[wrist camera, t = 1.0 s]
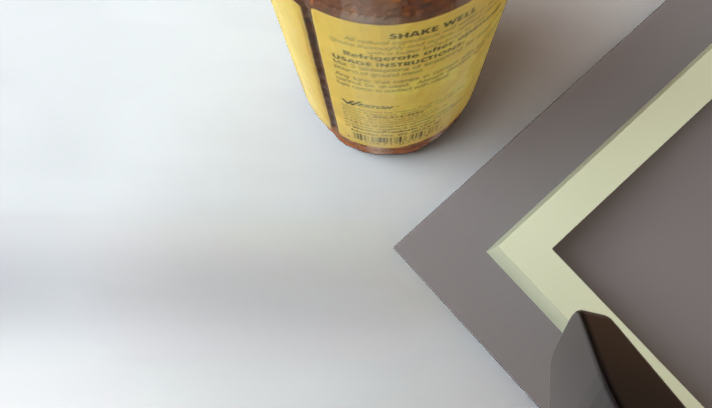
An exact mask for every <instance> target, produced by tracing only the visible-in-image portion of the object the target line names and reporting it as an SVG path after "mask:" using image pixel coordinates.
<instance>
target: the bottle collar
mask: <svg viewBox="0 0 712 408" xmlns="http://www.w3.org/2000/svg"><path fill="white" fill-rule="evenodd" d="M711 99H712V43H711V44H710V45H709V46H708V47H707V48H706V49H705V50H704V51H702V52H701V53H700V54H699V55H698V56H697V57H696V58H695V59H694V60H693V61H692V62H691V63H690V64H688V65H687V66H686V67H685V68H684V69H683V70H682V71H681V72H680V73H679V74H678V75H677V76H675V77H674V78H673V79H672V80H671V81H670V82H669V83H668V84H667V85H666V86H665V87H664V88H662V89H661V90H660V91H659V92H658V93H657V94H656V95H655V96H654V97H653V98H652V99H651V100H649V101H648V102H647V103H646V104H645V105H644V106H643V107H642V108H641V109H640V110H639V111H638V112H637V113H635V114H634V115H633V116H632V117H631V118H630V119H629V120H628V121H627V122H626V123H625V124H624V125H622V126H621V127H620V128H619V129H618V130H617V131H616V132H615V133H614V134H613V135H612V136H611V137H609V138H608V139H607V140H606V141H605V142H604V143H603V144H602V145H601V146H600V147H599V148H598V149H596V150H595V151H594V152H593V153H592V154H591V155H590V156H589V157H588V158H587V159H586V160H585V161H583V162H582V163H581V164H580V165H579V166H578V167H577V168H576V169H575V170H574V171H573V172H572V173H571V174H569V175H568V176H567V177H566V178H565V179H564V180H563V181H562V182H561V183H560V184H559V185H558V186H556V187H555V188H554V189H553V190H552V191H551V192H550V193H549V194H548V195H547V196H546V197H545V198H543V199H542V200H541V201H540V202H539V203H538V204H537V205H536V206H535V207H534V208H533V209H532V210H530V211H529V212H528V213H527V214H526V215H525V216H524V217H523V218H522V219H521V220H520V221H519V222H517V223H516V224H515V225H514V226H513V227H512V228H511V229H510V230H509V231H508V232H507V233H506V234H505V235H503V236H502V237H501V238H500V239H499V240H498V241H497V242H496V243H495V244H494V245H493V246H492V247H490V248H489V249H488V250H487V251H486V252H487V253H488V254H489V255H490V256H491V257H492V258H493V260H494V261H495V262H496V263H497V264H498V265H499V266H500V267H501V268H502V269H503V270H504V271H505V272H506V273H507V274H508V276H509V277H510V278H511V279H512V280H513V281H514V282H515V283H516V284H517V285H518V286H519V287H520V288H521V289H522V290H523V291H524V293H525V294H526V295H527V296H528V297H529V298H530V299H531V300H532V301H533V302H534V303H535V304H536V305H537V306H538V307H539V309H540V310H541V311H542V312H543V313H544V314H545V315H546V316H547V317H548V318H549V319H550V320H551V321H552V322H553V323H554V325H555V326H556V327H557V328H558V329H559V330H560V331H561V332H562V333H563V331H564V329H565V327H566V325H567V323H568V322H569V320H570V318H571V316H572V315H573V314H574V313H575V312H576V311H578V310H585V311H589V312H594V313H598V314H602V315H606V316H608V317H609V318H611V319H612V320H613V321H614V322H615V323H616V325H617V326H618V327H619V328H620V329H621V331H622V332H623V333H624V334H625V335H626V337H627V338H628V339H629V340H630V341H631V342H632V344H633V345H634V346H635V347H636V348H637V350H638V351H639V352H640V353H641V354H642V356H643V357H644V358H645V359H646V360H647V362H648V363H649V364H650V365H651V366H652V367H653V369H654V370H655V371H656V372H657V373H658V375H659V376H660V377H661V378H662V379H663V381H664V382H665V383H666V384H667V385H668V386H669V388H670V389H671V390H672V391H673V392H674V394H675V395H676V396H677V397H678V398H679V400H680V401H681V402H682V403H683V404H684V405H685V407H686V408H704V407H703V406H702V405H701V404H700V403H699V402H698V401H697V400H696V399H695V398H694V396H693V395H692V394H691V393H690V392H689V391H688V390H687V389H686V388H685V387H684V386H683V385H682V384H681V383H680V382H679V381H678V380H677V379H676V378H675V377H674V376H673V375H672V374H671V373H670V371H669V370H668V369H667V368H666V367H665V366H664V365H663V364H662V363H661V362H660V361H659V360H658V359H657V358H656V357H655V356H654V355H653V354H652V353H651V352H650V351H649V350H648V349H647V348H646V347H645V345H644V344H643V343H642V342H641V341H640V340H639V339H638V338H637V337H636V336H635V335H634V334H633V333H632V332H631V331H630V330H629V329H628V328H627V327H626V326H625V325H624V324H623V323H622V322H621V320H620V319H619V318H618V317H617V316H616V315H615V314H614V313H613V312H612V311H611V310H610V309H609V308H608V307H607V306H606V305H605V304H604V303H603V302H602V301H601V300H600V299H599V298H598V297H597V295H596V294H595V293H594V292H593V291H592V290H591V289H590V288H589V287H588V286H587V285H586V284H585V283H584V282H583V281H582V280H581V279H580V278H579V277H578V276H577V275H576V274H575V273H574V272H573V270H572V269H571V268H570V267H569V266H568V265H567V264H566V263H565V262H564V261H563V260H562V259H561V258H560V257H559V256H558V255H557V254H556V253H555V252H554V251H553V250H552V248H553V247H554V246H555V245H556V244H557V243H558V242H560V241H561V240H562V239H563V238H564V237H565V236H566V235H567V234H568V233H569V232H570V231H571V230H572V229H573V228H574V227H576V226H577V225H578V224H579V223H580V222H581V221H582V220H583V219H584V218H585V217H586V216H587V215H588V214H589V213H590V212H591V211H593V210H594V209H595V208H596V207H597V206H598V205H599V204H600V203H601V202H602V201H603V200H604V199H605V198H606V197H607V196H609V195H610V194H611V193H612V192H613V191H614V190H615V189H616V188H617V187H618V186H619V185H620V184H621V183H622V182H623V181H625V180H626V179H627V178H628V177H629V176H630V175H631V174H632V173H633V172H634V171H635V170H636V169H637V168H638V167H639V166H641V165H642V164H643V163H644V162H645V161H646V160H647V159H648V158H649V157H650V156H651V155H652V154H653V153H654V152H655V151H657V150H658V149H659V148H660V147H661V146H662V145H663V144H664V143H665V142H666V141H667V140H668V139H669V138H670V137H671V136H673V135H674V134H675V133H676V132H677V131H678V130H679V129H680V128H681V127H682V126H683V125H684V124H685V123H686V122H687V121H689V120H690V119H691V118H692V117H693V116H694V115H695V114H696V113H697V112H698V111H699V110H700V109H701V108H702V107H703V106H705V105H706V104H707V103H708V102H709V101H710V100H711Z"/></svg>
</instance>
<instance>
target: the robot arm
mask: <svg viewBox="0 0 712 408" xmlns="http://www.w3.org/2000/svg"><path fill="white" fill-rule="evenodd" d="M549 408H686V407H685V405H684V404H683V403H682V402H681V401H680V400H679V398H678V397H677V396H676V395H675V394H674V392H673V391H672V390H671V389H670V388H669V386H668V385H667V384H666V383H665V382H664V381H663V379H662V378H661V377H660V376H659V375H658V373H657V372H656V371H655V370H654V369H653V367H652V366H651V365H650V364H649V363H648V362H647V360H646V359H645V358H644V357H643V356H642V354H641V353H640V352H639V351H638V350H637V348H636V347H635V346H634V345H633V344H632V342H631V341H630V340H629V339H628V338H627V337H626V335H625V334H624V333H623V332H622V331H621V329H620V328H619V327H618V326H617V325H616V323H615V322H614V321H613V320H612V319H611V318H609V317H608V316H606V315H602V314H598V313H594V312H589V311H585V310H578V311H576V312H575V313H574V314H573V315H572V316H571V318H570V320H569V322H568V323H567V325H566V327H565V329H564V331H563V333H562V335H561V337H560V339H559V341H558V343H557V345H556V347H555V348H554V351H553V353H552V357H551V361H550V374H549Z"/></svg>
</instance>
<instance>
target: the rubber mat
mask: <svg viewBox="0 0 712 408" xmlns="http://www.w3.org/2000/svg"><path fill="white" fill-rule="evenodd" d="M711 43H712V0H666V1H665V2H664V3H663V4H662V5H661V6H660V7H659V8H658V9H657V10H655V11H654V12H653V13H652V14H651V15H650V16H649V17H648V18H647V19H645V20H644V21H643V22H642V23H641V24H640V25H639V26H638V27H637V28H635V29H634V30H633V31H632V32H631V33H630V34H629V35H628V36H627V37H626V38H624V39H623V40H622V41H621V42H620V43H619V44H618V45H617V46H616V47H614V48H613V49H612V50H611V51H610V52H609V53H608V54H607V55H606V56H605V57H603V58H602V59H601V60H600V61H599V62H598V63H597V64H596V65H595V66H593V67H592V68H591V69H590V70H589V71H588V72H587V73H586V74H585V75H584V76H582V77H581V78H580V79H579V80H578V81H577V82H576V83H575V84H574V85H572V86H571V87H570V88H569V89H568V90H567V91H566V92H565V93H564V94H562V95H561V96H560V97H559V98H558V99H557V100H556V101H555V102H554V103H553V104H551V105H550V106H549V107H548V108H547V109H546V110H545V111H544V112H543V113H541V114H540V115H539V116H538V117H537V118H536V119H535V120H534V121H533V122H532V123H530V124H529V125H528V126H527V127H526V128H525V129H524V130H523V131H522V132H520V133H519V134H518V135H517V136H516V137H515V138H514V139H513V140H512V141H511V142H509V143H508V144H507V145H506V146H505V147H504V148H503V149H502V150H501V151H499V152H498V153H497V154H496V155H495V156H494V157H493V158H492V159H491V160H489V161H488V162H487V163H486V164H485V165H484V166H483V167H482V168H481V169H480V170H478V171H477V172H476V173H475V174H474V175H473V176H472V177H471V178H470V179H468V180H467V181H466V182H465V183H464V184H463V185H462V186H461V187H460V188H459V189H457V190H456V191H455V192H454V193H453V194H452V195H451V196H450V197H449V198H447V199H446V200H445V201H444V202H443V203H442V204H441V205H440V206H439V207H438V208H436V209H435V210H434V211H433V212H432V213H431V214H430V215H429V216H428V217H426V218H425V219H424V220H423V221H422V222H421V223H420V224H419V225H418V226H416V227H415V228H414V229H413V230H412V231H411V232H410V233H409V234H408V235H407V236H405V237H404V238H403V239H402V240H401V241H400V242H399V243H398V244H397V245H395V246H394V249H395V250H396V251H397V252H398V253H399V254H400V255H401V256H402V258H403V259H404V260H405V261H406V262H407V263H408V264H409V265H410V266H411V267H412V269H413V270H414V271H415V272H416V273H417V274H418V275H419V276H420V277H421V278H422V280H423V281H424V282H425V283H426V284H427V285H428V286H429V287H430V288H431V289H432V291H433V292H434V293H435V294H436V295H437V296H438V297H439V298H440V299H441V300H442V301H443V303H444V304H445V305H446V306H447V307H448V308H449V309H450V310H451V311H452V312H453V314H454V315H455V316H456V317H457V318H458V319H459V320H460V321H461V322H462V323H463V325H464V326H465V327H466V328H467V329H468V330H469V331H470V332H471V333H472V334H473V336H474V337H475V338H476V339H477V340H478V341H479V342H480V343H481V344H482V345H483V346H484V348H485V349H486V350H487V351H488V352H489V353H490V354H491V355H492V356H493V357H494V359H495V360H496V361H497V362H498V363H499V364H500V365H501V366H502V367H503V368H504V370H505V371H506V372H507V373H508V374H509V375H510V376H511V377H512V378H513V379H514V381H515V382H516V383H517V384H518V385H519V386H520V387H521V388H522V389H523V390H524V391H525V393H526V394H527V395H528V396H529V397H530V398H531V399H532V400H533V401H534V402H535V404H536V405H537V406H538V407H539V408H549V374H550V361H551V357H552V353H553V351H554V348H555V347H556V345H557V343H558V341H559V339H560V337H561V335H562V332H561V331H560V330H559V329H558V328H557V327H556V326H555V325H554V323H553V322H552V321H551V320H550V319H549V318H548V317H547V316H546V315H545V314H544V313H543V312H542V311H541V310H540V309H539V307H538V306H537V305H536V304H535V303H534V302H533V301H532V300H531V299H530V298H529V297H528V296H527V295H526V294H525V293H524V291H523V290H522V289H521V288H520V287H519V286H518V285H517V284H516V283H515V282H514V281H513V280H512V279H511V278H510V277H509V276H508V274H507V273H506V272H505V271H504V270H503V269H502V268H501V267H500V266H499V265H498V264H497V263H496V262H495V261H494V260H493V258H492V257H491V256H490V255H489V254H488V253H487V252H486V251H487V250H488V249H489V248H490V247H492V246H493V245H494V244H495V243H496V242H497V241H498V240H499V239H500V238H501V237H502V236H503V235H505V234H506V233H507V232H508V231H509V230H510V229H511V228H512V227H513V226H514V225H515V224H516V223H517V222H519V221H520V220H521V219H522V218H523V217H524V216H525V215H526V214H527V213H528V212H529V211H530V210H532V209H533V208H534V207H535V206H536V205H537V204H538V203H539V202H540V201H541V200H542V199H543V198H545V197H546V196H547V195H548V194H549V193H550V192H551V191H552V190H553V189H554V188H555V187H556V186H558V185H559V184H560V183H561V182H562V181H563V180H564V179H565V178H566V177H567V176H568V175H569V174H571V173H572V172H573V171H574V170H575V169H576V168H577V167H578V166H579V165H580V164H581V163H582V162H583V161H585V160H586V159H587V158H588V157H589V156H590V155H591V154H592V153H593V152H594V151H595V150H596V149H598V148H599V147H600V146H601V145H602V144H603V143H604V142H605V141H606V140H607V139H608V138H609V137H611V136H612V135H613V134H614V133H615V132H616V131H617V130H618V129H619V128H620V127H621V126H622V125H624V124H625V123H626V122H627V121H628V120H629V119H630V118H631V117H632V116H633V115H634V114H635V113H637V112H638V111H639V110H640V109H641V108H642V107H643V106H644V105H645V104H646V103H647V102H648V101H649V100H651V99H652V98H653V97H654V96H655V95H656V94H657V93H658V92H659V91H660V90H661V89H662V88H664V87H665V86H666V85H667V84H668V83H669V82H670V81H671V80H672V79H673V78H674V77H675V76H677V75H678V74H679V73H680V72H681V71H682V70H683V69H684V68H685V67H686V66H687V65H688V64H690V63H691V62H692V61H693V60H694V59H695V58H696V57H697V56H698V55H699V54H700V53H701V52H702V51H704V50H705V49H706V48H707V47H708V46H709V45H710V44H711ZM552 250H553V251H554V252H555V253H556V254H557V255H558V256H559V257H560V258H561V259H562V260H563V261H564V262H565V263H566V264H567V265H568V266H569V267H570V268H571V269H572V270H573V272H574V273H575V274H576V275H577V276H578V277H579V278H580V279H581V280H582V281H583V282H584V283H585V284H586V285H587V286H588V287H589V288H590V289H591V290H592V291H593V292H594V293H595V294H596V295H597V297H598V298H599V299H600V300H601V301H602V302H603V303H604V304H605V305H606V306H607V307H608V308H609V309H610V310H611V311H612V312H613V313H614V314H615V315H616V316H617V317H618V318H619V319H620V320H621V322H622V323H623V324H624V325H625V326H626V327H627V328H628V329H629V330H630V331H631V332H632V333H633V334H634V335H635V336H636V337H637V338H638V339H639V340H640V341H641V342H642V343H643V344H644V345H645V347H646V348H647V349H648V350H649V351H650V352H651V353H652V354H653V355H654V356H655V357H656V358H657V359H658V360H659V361H660V362H661V363H662V364H663V365H664V366H665V367H666V368H667V369H668V370H669V371H670V373H671V374H672V375H673V376H674V377H675V378H676V379H677V380H678V381H679V382H680V383H681V384H682V385H683V386H684V387H685V388H686V389H687V390H688V391H689V392H690V393H691V394H692V395H693V396H694V398H695V399H696V400H697V401H698V402H699V403H700V404H701V405H702V406H703V407H704V408H712V99H711V100H710V101H709V102H708V103H707V104H706V105H705V106H703V107H702V108H701V109H700V110H699V111H698V112H697V113H696V114H695V115H694V116H693V117H692V118H691V119H690V120H689V121H687V122H686V123H685V124H684V125H683V126H682V127H681V128H680V129H679V130H678V131H677V132H676V133H675V134H674V135H673V136H671V137H670V138H669V139H668V140H667V141H666V142H665V143H664V144H663V145H662V146H661V147H660V148H659V149H658V150H657V151H655V152H654V153H653V154H652V155H651V156H650V157H649V158H648V159H647V160H646V161H645V162H644V163H643V164H642V165H641V166H639V167H638V168H637V169H636V170H635V171H634V172H633V173H632V174H631V175H630V176H629V177H628V178H627V179H626V180H625V181H623V182H622V183H621V184H620V185H619V186H618V187H617V188H616V189H615V190H614V191H613V192H612V193H611V194H610V195H609V196H607V197H606V198H605V199H604V200H603V201H602V202H601V203H600V204H599V205H598V206H597V207H596V208H595V209H594V210H593V211H591V212H590V213H589V214H588V215H587V216H586V217H585V218H584V219H583V220H582V221H581V222H580V223H579V224H578V225H577V226H576V227H574V228H573V229H572V230H571V231H570V232H569V233H568V234H567V235H566V236H565V237H564V238H563V239H562V240H561V241H560V242H558V243H557V244H556V245H555V246H554V247H553V248H552Z"/></svg>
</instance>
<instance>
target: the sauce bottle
mask: <svg viewBox="0 0 712 408" xmlns="http://www.w3.org/2000/svg"><path fill="white" fill-rule="evenodd" d="M271 2H272V5H273V7H274V10H275V13H276V16H277V18H278V21H279V24H280V26H281V29H282V32H283V35H284V37H285V40H286V43H287V46H288V48H289V51H290V54H291V57H292V59H293V62H294V65H295V67H296V70H297V73H298V75H299V78H300V81H301V83H302V86H303V89H304V92H305V94H306V97H307V99H308V101H309V103H310V105H311V107H312V108H313V110H314V111H315V113H316V114H317V116H318V117H319V118H320V119H321V121H322V122H323V123H324V124H325V125H326V126H327V127H328V129H329V130H331V131H332V132H333V133H334V134H335V135H336V137H337V138H338V139H339V140H340V141H342V142H343V143H344V144H346V145H348V146H350V147H353V148H355V149H358V150H360V151H363V152H368V153H373V154H401V153H409V152H413V151H417V150H419V149H420V148H421V147H424V146H426V145H427V144H429V143H430V142H431V141H433V140H435V139H436V138H438V137H439V136H440V135H441V134H442V133H444V132H445V131H446V130H448V128H449V127H450V126H451V125H452V124H453V123H454V122H455V121H456V120H457V118H458V117H459V116H460V114H461V112H462V110H463V109H464V108H465V106H466V105H467V103H468V101H469V99H470V97H471V95H472V93H473V90H474V88H475V85H476V83H477V80H478V77H479V75H480V72H481V69H482V67H483V64H484V61H485V58H486V56H487V53H488V50H489V47H490V44H491V42H492V39H493V36H494V34H495V31H496V28H497V26H498V23H499V20H500V18H501V15H502V13H503V10H504V7H505V5H506V2H507V0H271Z"/></svg>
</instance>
